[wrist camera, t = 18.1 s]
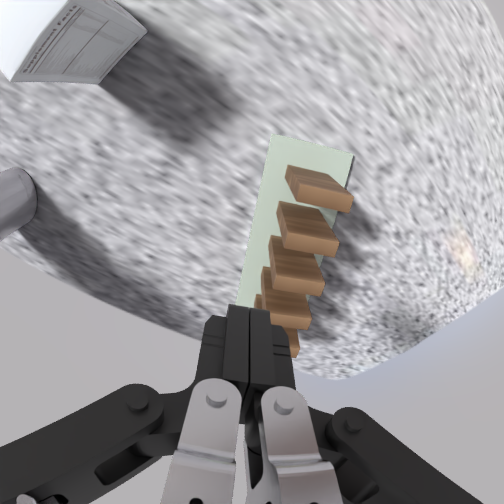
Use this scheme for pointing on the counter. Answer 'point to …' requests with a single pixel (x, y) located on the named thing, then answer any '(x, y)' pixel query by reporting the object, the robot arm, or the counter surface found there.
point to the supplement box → (64, 39)
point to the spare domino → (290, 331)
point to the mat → (278, 190)
